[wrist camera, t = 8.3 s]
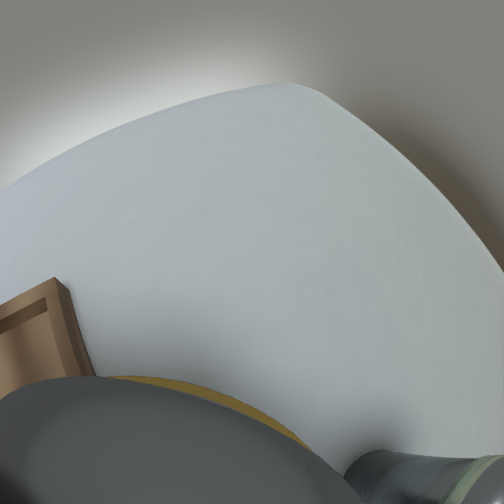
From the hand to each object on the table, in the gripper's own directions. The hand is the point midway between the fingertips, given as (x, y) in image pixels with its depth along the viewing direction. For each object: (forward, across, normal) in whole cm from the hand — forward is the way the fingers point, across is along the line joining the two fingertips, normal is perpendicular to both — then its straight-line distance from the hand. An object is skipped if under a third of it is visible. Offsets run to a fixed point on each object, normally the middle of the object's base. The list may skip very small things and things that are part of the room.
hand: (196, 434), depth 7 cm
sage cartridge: (+4, -13, +10) cm, 17 cm away
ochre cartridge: (+4, 0, +6) cm, 7 cm away
